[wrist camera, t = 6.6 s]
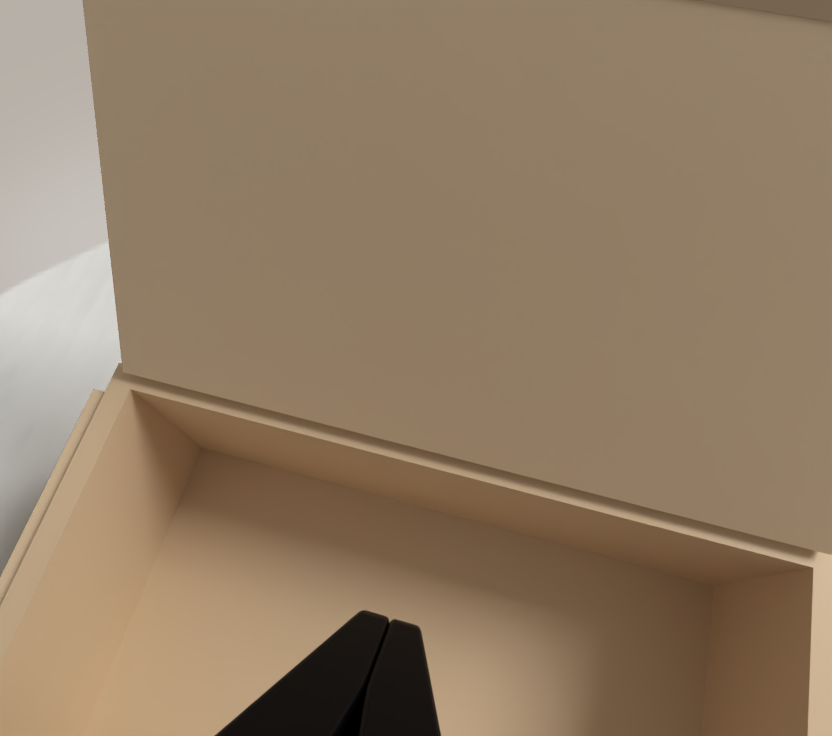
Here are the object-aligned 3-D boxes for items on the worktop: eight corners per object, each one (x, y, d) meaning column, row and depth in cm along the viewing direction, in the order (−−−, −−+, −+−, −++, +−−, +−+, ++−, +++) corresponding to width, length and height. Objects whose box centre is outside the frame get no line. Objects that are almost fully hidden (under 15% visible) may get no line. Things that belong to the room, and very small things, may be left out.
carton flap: (1218, -26, 9) (1191, -24, 9) (61, -186, 11) (79, -180, 11) (831, 555, 14) (824, 541, 14) (122, 372, 16) (133, 364, 17)
